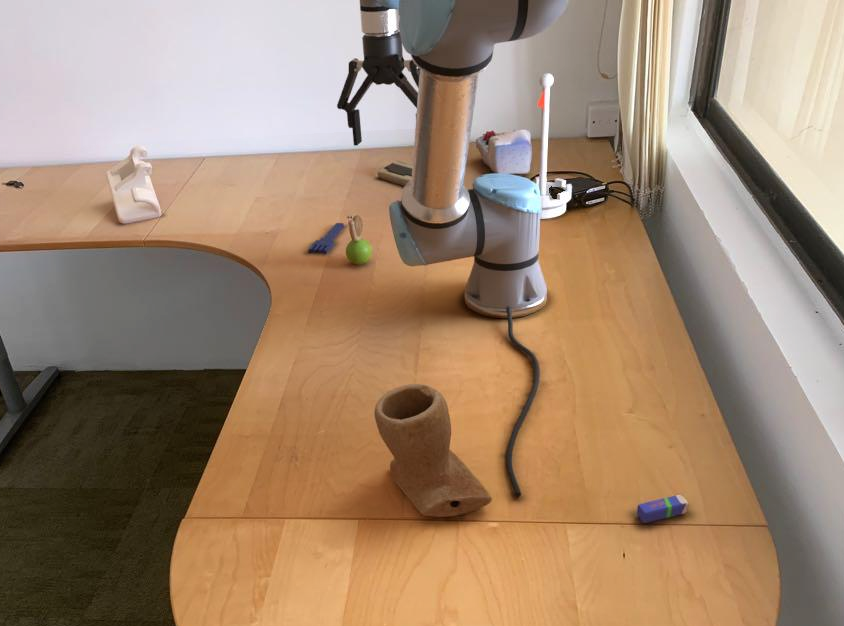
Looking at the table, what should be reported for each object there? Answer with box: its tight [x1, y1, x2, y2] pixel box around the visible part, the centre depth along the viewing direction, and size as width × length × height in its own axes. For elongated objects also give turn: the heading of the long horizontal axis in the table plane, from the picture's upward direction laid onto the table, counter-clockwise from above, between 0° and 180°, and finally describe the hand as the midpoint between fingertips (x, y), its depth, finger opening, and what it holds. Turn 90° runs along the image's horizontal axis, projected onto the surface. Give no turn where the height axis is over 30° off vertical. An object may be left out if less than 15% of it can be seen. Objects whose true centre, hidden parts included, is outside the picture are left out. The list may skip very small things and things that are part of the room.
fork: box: [307, 222, 345, 255], centre depth 190 cm, size 15×4×1 cm, turn 161°
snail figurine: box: [345, 215, 372, 265], centre depth 175 cm, size 5×6×12 cm
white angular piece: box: [105, 145, 163, 225], centre depth 215 cm, size 20×11×13 cm, turn 19°
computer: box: [377, 160, 413, 187], centre depth 216 cm, size 16×8×3 cm, turn 40°
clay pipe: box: [373, 383, 493, 518], centre depth 111 cm, size 15×12×15 cm
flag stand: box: [533, 72, 573, 220], centre depth 185 cm, size 13×13×30 cm
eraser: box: [636, 494, 689, 524], centre depth 107 cm, size 2×6×2 cm, turn 104°
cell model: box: [475, 129, 533, 175], centre depth 216 cm, size 13×11×20 cm
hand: (389, 144), depth 171 cm, fingers open, 13 cm apart
